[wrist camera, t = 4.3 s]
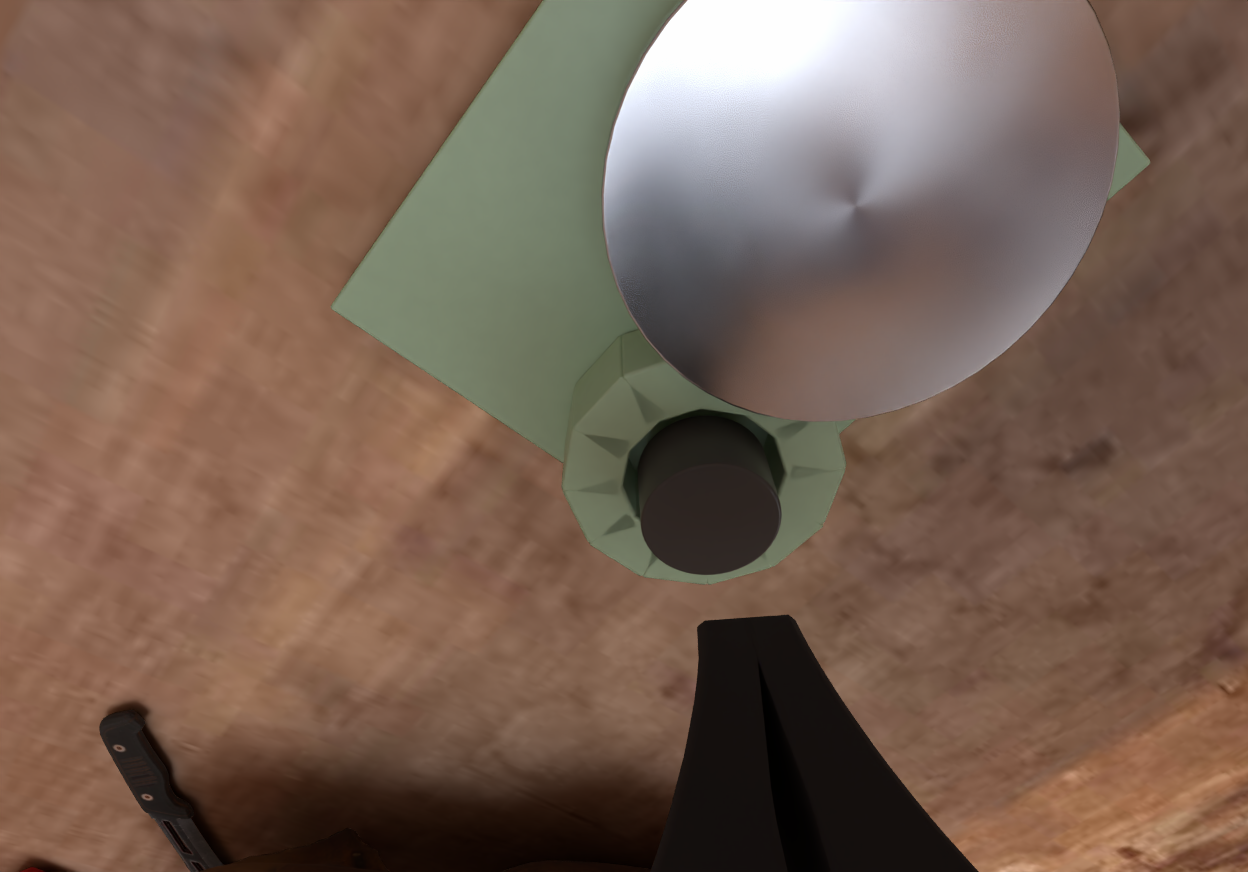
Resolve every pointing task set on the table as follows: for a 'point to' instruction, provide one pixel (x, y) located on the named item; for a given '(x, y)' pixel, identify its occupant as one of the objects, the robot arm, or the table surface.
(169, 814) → the knife
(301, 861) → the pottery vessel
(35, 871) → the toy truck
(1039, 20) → the scale pan
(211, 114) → the table surface
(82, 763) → the table surface
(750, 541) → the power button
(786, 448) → the scale
